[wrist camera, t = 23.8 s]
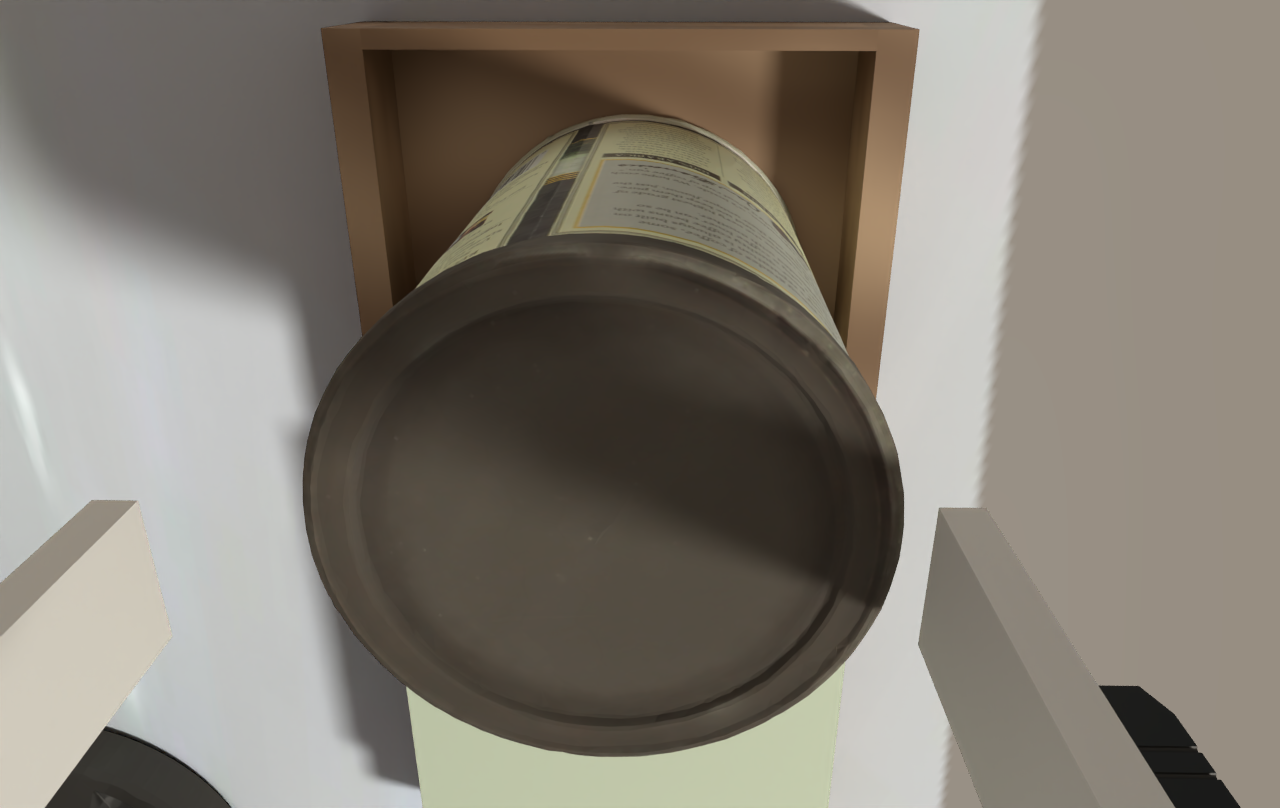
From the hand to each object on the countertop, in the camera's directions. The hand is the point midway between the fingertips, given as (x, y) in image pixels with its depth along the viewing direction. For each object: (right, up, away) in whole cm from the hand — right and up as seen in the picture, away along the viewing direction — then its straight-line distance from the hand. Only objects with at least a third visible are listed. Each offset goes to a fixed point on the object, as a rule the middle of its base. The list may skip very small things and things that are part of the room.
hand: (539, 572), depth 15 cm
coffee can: (+2, +7, +13) cm, 15 cm away
